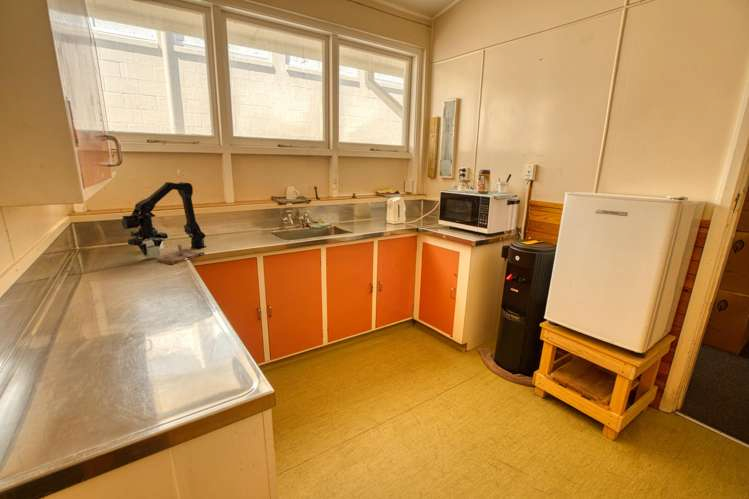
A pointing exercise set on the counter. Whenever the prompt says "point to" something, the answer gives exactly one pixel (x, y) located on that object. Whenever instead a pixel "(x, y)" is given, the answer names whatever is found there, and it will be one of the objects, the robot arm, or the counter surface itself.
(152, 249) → the square hollow cube
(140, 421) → the counter surface
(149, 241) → the medicine bottle
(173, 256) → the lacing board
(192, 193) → the robot arm
